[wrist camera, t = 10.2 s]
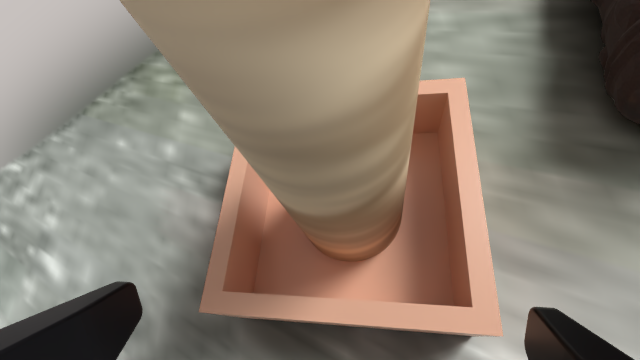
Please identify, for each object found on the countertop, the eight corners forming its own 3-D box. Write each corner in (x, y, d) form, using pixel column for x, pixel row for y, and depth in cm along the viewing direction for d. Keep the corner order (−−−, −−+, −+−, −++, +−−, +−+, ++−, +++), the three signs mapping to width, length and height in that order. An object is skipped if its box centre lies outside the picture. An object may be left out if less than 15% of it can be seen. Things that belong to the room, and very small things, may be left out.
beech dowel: (357, 284, 15) (256, 96, 3) (283, 219, 17) (58, -38, 5) (422, 203, 16) (521, -155, 4) (344, 151, 18) (270, -184, 6)
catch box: (472, 336, 14) (503, 336, 10) (240, 317, 16) (198, 312, 12) (449, 128, 18) (464, 77, 15) (271, 135, 20) (246, 92, 17)
